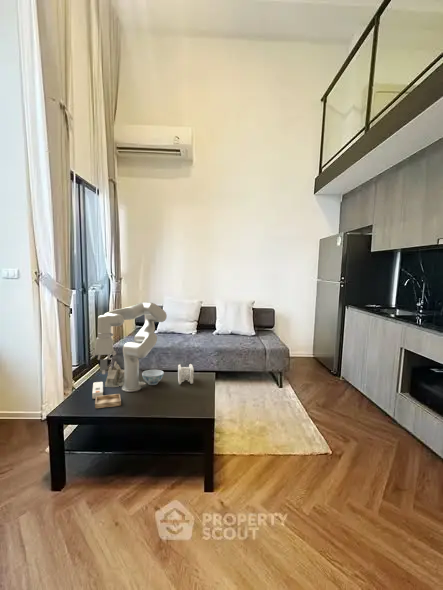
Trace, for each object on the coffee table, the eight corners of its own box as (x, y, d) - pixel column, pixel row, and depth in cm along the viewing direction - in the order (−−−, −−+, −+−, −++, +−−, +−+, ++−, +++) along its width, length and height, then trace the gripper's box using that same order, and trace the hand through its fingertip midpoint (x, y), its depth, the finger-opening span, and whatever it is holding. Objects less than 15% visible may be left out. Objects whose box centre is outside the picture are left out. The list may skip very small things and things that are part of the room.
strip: (102, 386, 213) (102, 381, 213) (102, 397, 195) (102, 391, 194) (93, 387, 211) (93, 381, 211) (92, 398, 193) (92, 392, 192)
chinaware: (145, 379, 230) (145, 369, 229) (165, 380, 229) (165, 370, 229) (139, 386, 215) (139, 375, 214) (160, 387, 214) (161, 376, 214)
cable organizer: (177, 378, 234) (178, 363, 233) (192, 378, 236) (192, 363, 235) (178, 385, 219) (178, 369, 218) (193, 385, 221) (194, 369, 220)
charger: (107, 373, 191) (107, 359, 193) (106, 373, 186) (107, 359, 188) (100, 374, 190) (100, 360, 192) (99, 374, 185) (100, 359, 187)
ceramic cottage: (101, 385, 215) (102, 364, 214) (117, 379, 230) (118, 359, 229) (119, 390, 209) (121, 368, 209) (134, 383, 225) (136, 363, 224)
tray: (119, 397, 195) (119, 393, 195) (120, 405, 184) (120, 401, 184) (95, 400, 191) (95, 396, 190) (95, 408, 179) (95, 404, 179)
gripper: (119, 334, 195) (118, 363, 196) (89, 334, 190) (89, 364, 191) (118, 336, 188) (118, 366, 189) (88, 337, 183) (88, 368, 184)
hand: (103, 365), depth 190 cm, fingers closed on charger, 3 cm apart
